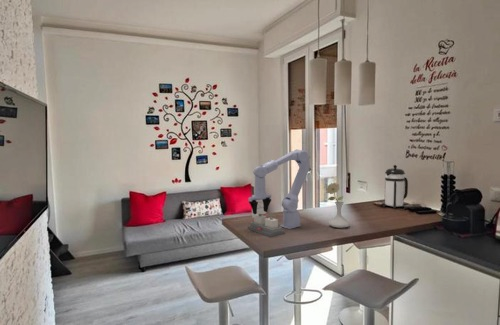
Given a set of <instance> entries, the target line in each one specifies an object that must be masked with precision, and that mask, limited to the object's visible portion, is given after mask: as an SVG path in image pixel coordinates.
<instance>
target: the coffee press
mask: <svg viewBox="0 0 500 325" xmlns="http://www.w3.org/2000/svg"><path fill="white" fill-rule="evenodd" d="M397 167H398V165H396V164H394V165H393V168H387V169H386V170H385V171H384V174H385V178H384V202H383V204H382V207H384V208H385V206H389V207H393V210H397V209H396V207H402V208H403V207H405V208H406V205H404V202H405V199H406V198H407V197H408V192H409V191H408V190H409V188H408V187H409V181H408V179H407V177H405V176H406V173H405V170H403V169H401V168H397Z"/></svg>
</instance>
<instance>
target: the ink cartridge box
mask: <svg viewBox="0 0 500 325" xmlns="http://www.w3.org/2000/svg"><path fill="white" fill-rule="evenodd" d="M253 196H255V194H252V195H251V197H253ZM256 202H258V204H257V214H253V210H252V209H251V218H252V219H254V215H258V214H262V215H264V216H266V218H268V216H267V215H268V213H267V212H268V211H267V212H265V211H264V206H263V200H262V199H261V200H256Z"/></svg>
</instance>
